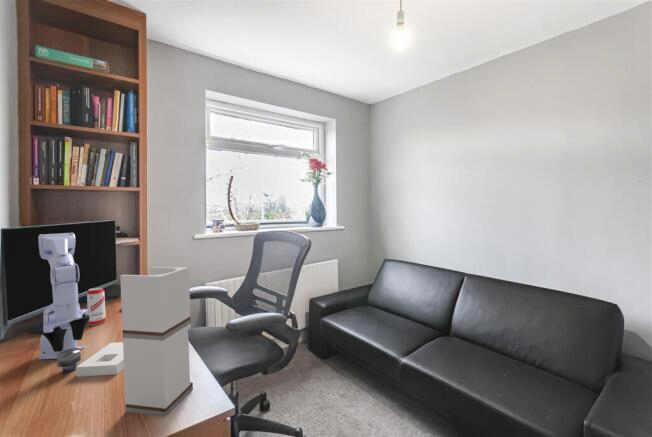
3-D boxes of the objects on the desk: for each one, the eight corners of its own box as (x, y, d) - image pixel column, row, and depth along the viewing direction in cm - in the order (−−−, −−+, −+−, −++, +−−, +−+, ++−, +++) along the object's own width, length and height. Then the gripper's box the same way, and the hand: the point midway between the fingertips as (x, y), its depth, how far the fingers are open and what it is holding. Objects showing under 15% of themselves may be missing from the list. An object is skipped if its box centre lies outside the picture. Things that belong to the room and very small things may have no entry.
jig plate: (76, 376, 88) (75, 367, 88) (111, 350, 104) (110, 342, 104) (117, 374, 89) (116, 364, 89) (145, 349, 105) (145, 341, 105)
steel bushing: (52, 376, 88) (51, 357, 88) (67, 366, 94) (66, 348, 94) (71, 374, 89) (70, 356, 89) (85, 365, 94) (84, 347, 94)
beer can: (108, 322, 131) (106, 288, 130) (91, 327, 125) (89, 291, 125) (102, 319, 134) (101, 286, 134) (85, 324, 129) (84, 289, 128)
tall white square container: (192, 389, 81) (188, 267, 79) (165, 416, 70) (160, 276, 69) (157, 385, 83) (152, 266, 81) (125, 411, 72) (120, 275, 71)
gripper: (60, 310, 84) (62, 356, 84) (96, 295, 98) (97, 334, 99) (34, 311, 83) (37, 357, 84) (74, 296, 98) (76, 335, 98)
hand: (68, 345), depth 91 cm, fingers open, 7 cm apart
